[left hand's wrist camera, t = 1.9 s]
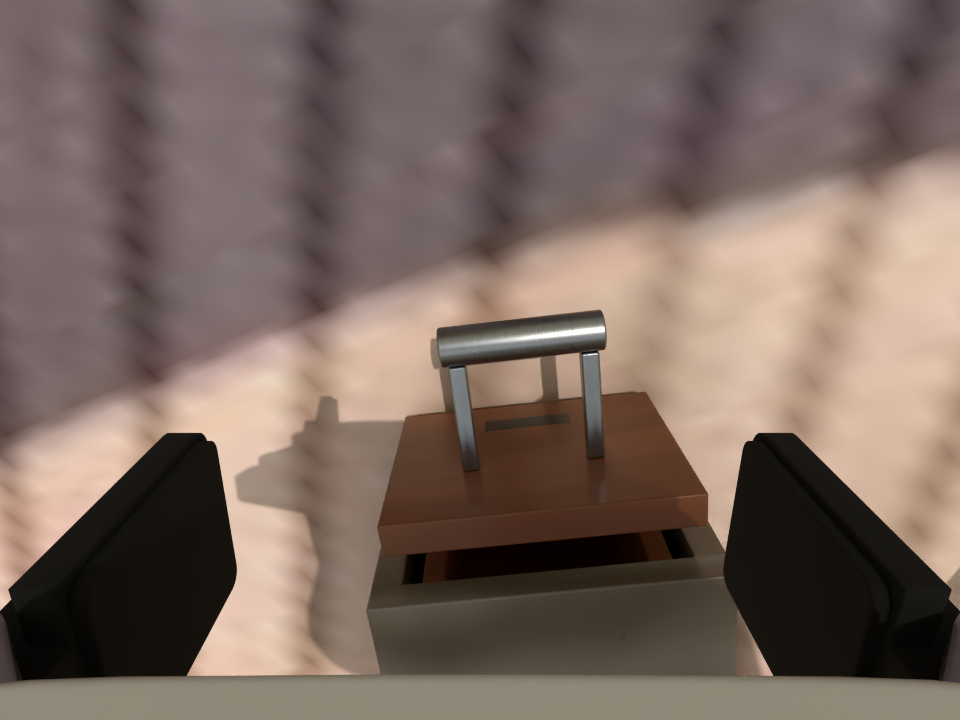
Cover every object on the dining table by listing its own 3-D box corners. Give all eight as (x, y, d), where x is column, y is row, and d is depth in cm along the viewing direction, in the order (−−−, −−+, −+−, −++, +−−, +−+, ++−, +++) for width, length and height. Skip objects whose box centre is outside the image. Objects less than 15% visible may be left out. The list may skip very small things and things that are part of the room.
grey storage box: (402, 453, 29) (365, 609, 20) (655, 426, 28) (739, 575, 19) (462, 776, 36) (455, 1000, 27) (663, 759, 36) (726, 982, 26)
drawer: (384, 299, 25) (343, 371, 18) (642, 269, 25) (710, 331, 17) (464, 746, 34) (459, 918, 27) (655, 730, 33) (704, 901, 26)
